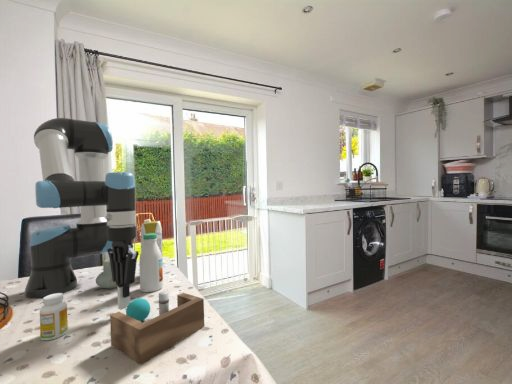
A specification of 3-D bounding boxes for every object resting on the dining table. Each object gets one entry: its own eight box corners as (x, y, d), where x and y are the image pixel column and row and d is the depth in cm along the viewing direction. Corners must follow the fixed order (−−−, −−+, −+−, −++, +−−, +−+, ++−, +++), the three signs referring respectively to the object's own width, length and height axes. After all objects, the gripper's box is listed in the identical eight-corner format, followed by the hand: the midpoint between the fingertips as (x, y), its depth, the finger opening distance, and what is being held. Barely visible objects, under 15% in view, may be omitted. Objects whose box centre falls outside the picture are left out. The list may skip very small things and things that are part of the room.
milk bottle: (155, 293, 89) (153, 235, 89) (135, 292, 91) (133, 235, 91) (167, 285, 97) (165, 232, 97) (148, 284, 98) (147, 232, 98)
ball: (134, 310, 65) (132, 331, 66) (155, 300, 70) (153, 320, 71) (122, 299, 68) (121, 319, 69) (143, 291, 73) (142, 310, 74)
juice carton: (144, 273, 112) (142, 218, 112) (163, 271, 114) (161, 217, 114) (141, 280, 103) (139, 220, 103) (162, 278, 105) (160, 219, 105)
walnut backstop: (111, 345, 59) (110, 315, 59) (174, 314, 73) (173, 289, 73) (140, 364, 52) (139, 329, 52) (204, 325, 66) (203, 298, 66)
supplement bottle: (64, 326, 68) (63, 290, 68) (70, 333, 64) (69, 294, 64) (38, 336, 64) (36, 297, 64) (43, 343, 60) (42, 302, 60)
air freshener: (103, 293, 91) (102, 264, 91) (92, 288, 95) (91, 262, 95) (132, 283, 100) (131, 257, 100) (120, 279, 105) (120, 255, 105)
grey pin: (157, 326, 66) (156, 293, 66) (165, 322, 68) (164, 290, 69) (163, 329, 65) (162, 295, 65) (171, 325, 67) (170, 292, 67)
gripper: (97, 226, 75) (99, 307, 75) (120, 229, 67) (123, 318, 67) (122, 223, 81) (125, 298, 81) (146, 225, 74) (149, 307, 74)
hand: (124, 307), depth 74 cm, fingers closed
